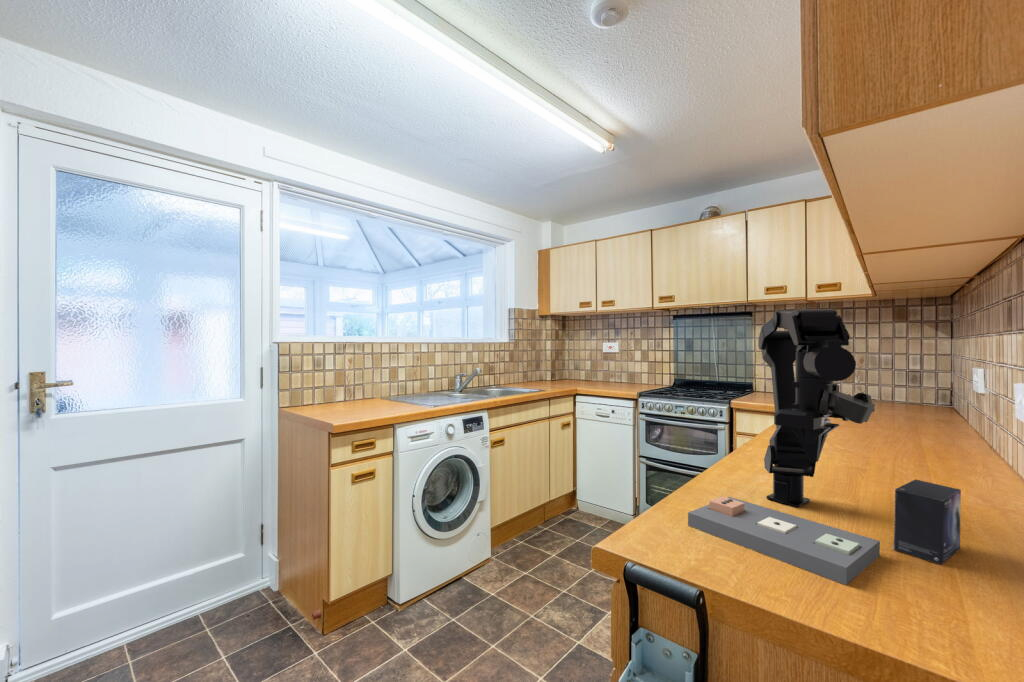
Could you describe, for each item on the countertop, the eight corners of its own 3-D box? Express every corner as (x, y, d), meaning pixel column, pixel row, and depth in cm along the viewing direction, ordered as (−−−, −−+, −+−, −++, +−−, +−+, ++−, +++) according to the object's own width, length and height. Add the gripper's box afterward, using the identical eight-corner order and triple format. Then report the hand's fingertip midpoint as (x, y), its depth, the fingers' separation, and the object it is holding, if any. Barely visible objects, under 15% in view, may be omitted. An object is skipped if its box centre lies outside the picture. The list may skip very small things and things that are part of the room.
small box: (945, 567, 68) (945, 500, 68) (892, 550, 74) (892, 488, 74) (963, 550, 74) (963, 488, 74) (912, 535, 79) (912, 478, 80)
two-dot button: (826, 548, 73) (826, 532, 73) (859, 559, 70) (859, 542, 70) (815, 555, 71) (815, 539, 71) (848, 567, 67) (848, 550, 67)
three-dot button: (721, 508, 88) (721, 495, 88) (744, 515, 84) (744, 502, 84) (709, 513, 85) (709, 500, 85) (732, 521, 82) (732, 507, 82)
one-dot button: (769, 530, 81) (769, 516, 81) (796, 539, 77) (796, 524, 77) (757, 536, 78) (757, 521, 78) (784, 546, 74) (784, 530, 74)
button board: (729, 508, 92) (729, 496, 92) (879, 556, 72) (879, 540, 72) (688, 525, 83) (688, 512, 83) (846, 585, 63) (846, 567, 63)
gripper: (848, 382, 69) (848, 482, 69) (885, 378, 80) (885, 463, 79) (772, 378, 78) (772, 465, 78) (815, 374, 89) (815, 451, 89)
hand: (813, 461), depth 81 cm, fingers closed
